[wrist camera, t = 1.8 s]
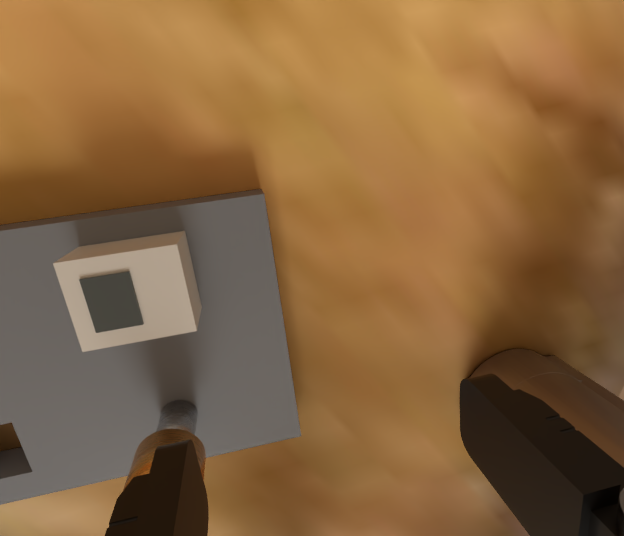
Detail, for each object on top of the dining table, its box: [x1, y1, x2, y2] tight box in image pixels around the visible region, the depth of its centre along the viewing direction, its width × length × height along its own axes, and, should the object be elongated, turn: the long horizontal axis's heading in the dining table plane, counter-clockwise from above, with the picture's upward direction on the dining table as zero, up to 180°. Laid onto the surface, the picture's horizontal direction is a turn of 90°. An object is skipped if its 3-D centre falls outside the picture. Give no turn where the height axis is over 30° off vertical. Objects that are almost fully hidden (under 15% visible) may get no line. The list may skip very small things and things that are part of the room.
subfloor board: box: [0, 189, 301, 505], centre depth 26 cm, size 28×18×3 cm, turn 96°
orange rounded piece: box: [123, 399, 206, 491], centre depth 24 cm, size 4×4×8 cm
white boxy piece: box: [53, 231, 202, 352], centre depth 23 cm, size 6×5×4 cm
